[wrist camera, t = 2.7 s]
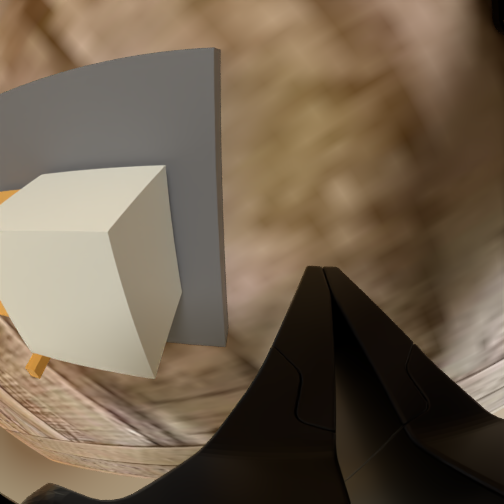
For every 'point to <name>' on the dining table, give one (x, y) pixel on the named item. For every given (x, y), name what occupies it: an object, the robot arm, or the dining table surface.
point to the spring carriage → (92, 267)
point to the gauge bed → (138, 155)
